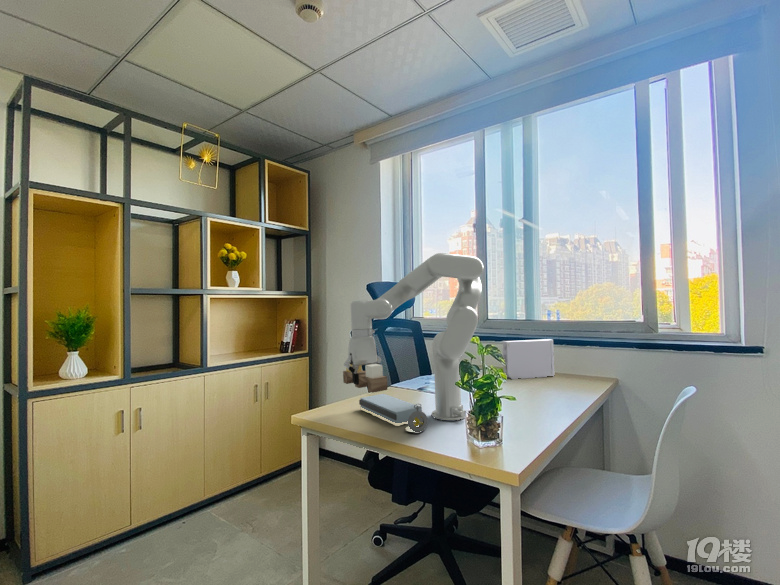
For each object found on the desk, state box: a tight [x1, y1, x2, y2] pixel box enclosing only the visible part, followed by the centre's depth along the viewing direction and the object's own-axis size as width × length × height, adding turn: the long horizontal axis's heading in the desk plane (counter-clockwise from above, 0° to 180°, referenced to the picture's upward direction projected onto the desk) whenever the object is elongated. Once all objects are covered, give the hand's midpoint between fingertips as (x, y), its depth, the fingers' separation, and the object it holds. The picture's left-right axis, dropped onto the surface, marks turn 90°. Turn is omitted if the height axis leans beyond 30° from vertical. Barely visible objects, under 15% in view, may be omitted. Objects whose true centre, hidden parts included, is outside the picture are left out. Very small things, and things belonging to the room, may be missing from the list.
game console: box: [502, 338, 555, 380], centre depth 209 cm, size 6×27×20 cm, turn 98°
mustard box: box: [345, 364, 363, 372], centre depth 147 cm, size 4×4×4 cm
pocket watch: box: [407, 403, 429, 433], centre depth 127 cm, size 8×8×10 cm
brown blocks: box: [342, 370, 388, 394], centre depth 141 cm, size 22×6×4 cm, turn 34°
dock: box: [358, 393, 423, 423], centre depth 146 cm, size 26×12×5 cm, turn 33°
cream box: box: [364, 363, 384, 378], centre depth 135 cm, size 4×4×4 cm
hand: (364, 382), depth 141 cm, fingers closed on brown blocks, 6 cm apart
